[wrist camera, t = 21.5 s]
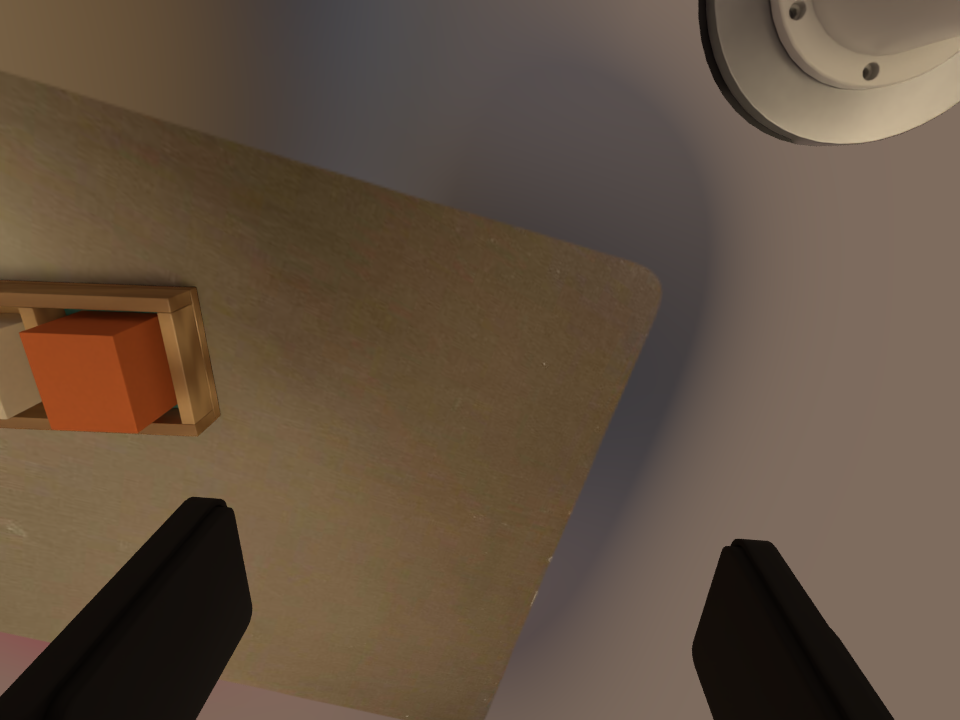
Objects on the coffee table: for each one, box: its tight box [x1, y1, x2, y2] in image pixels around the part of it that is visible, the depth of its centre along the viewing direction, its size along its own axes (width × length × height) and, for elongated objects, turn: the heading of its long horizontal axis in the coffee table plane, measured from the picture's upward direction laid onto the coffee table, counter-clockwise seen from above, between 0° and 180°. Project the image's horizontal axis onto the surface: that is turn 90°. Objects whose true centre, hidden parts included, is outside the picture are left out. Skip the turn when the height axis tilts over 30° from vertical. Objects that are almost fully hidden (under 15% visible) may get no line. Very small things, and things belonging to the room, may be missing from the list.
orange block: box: [19, 311, 177, 433], centre depth 34 cm, size 7×6×5 cm
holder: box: [0, 280, 220, 436], centre depth 36 cm, size 10×20×3 cm, turn 88°
